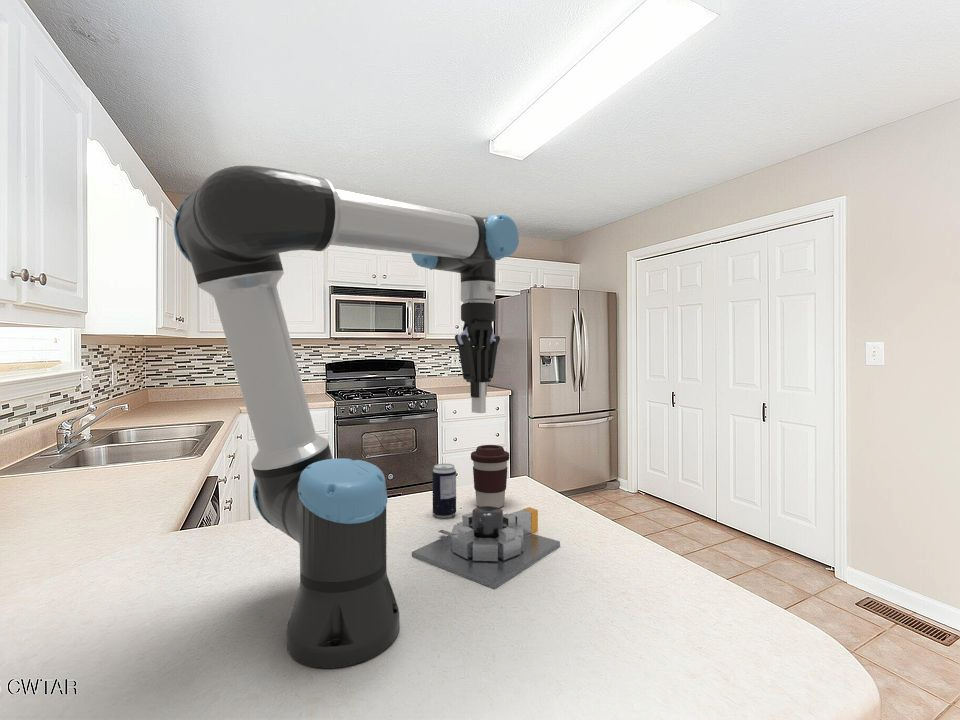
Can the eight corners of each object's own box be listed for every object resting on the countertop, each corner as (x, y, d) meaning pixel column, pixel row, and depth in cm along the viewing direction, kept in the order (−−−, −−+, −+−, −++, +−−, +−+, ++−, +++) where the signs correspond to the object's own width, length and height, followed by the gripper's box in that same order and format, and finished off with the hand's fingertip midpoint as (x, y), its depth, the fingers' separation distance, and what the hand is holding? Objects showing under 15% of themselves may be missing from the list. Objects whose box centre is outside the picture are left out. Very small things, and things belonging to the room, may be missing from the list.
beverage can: (457, 511, 117) (457, 463, 117) (454, 519, 111) (454, 469, 111) (435, 511, 118) (434, 462, 117) (430, 519, 112) (430, 468, 112)
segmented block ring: (438, 544, 94) (438, 521, 94) (510, 520, 107) (510, 500, 107) (484, 568, 84) (484, 542, 84) (558, 538, 97) (558, 516, 97)
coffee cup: (465, 502, 125) (464, 445, 124) (498, 497, 129) (498, 442, 128) (481, 513, 116) (480, 452, 115) (516, 507, 120) (516, 448, 119)
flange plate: (494, 588, 79) (494, 541, 79) (401, 552, 93) (401, 512, 93) (564, 543, 97) (564, 504, 97) (477, 519, 112) (477, 485, 111)
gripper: (472, 299, 94) (472, 417, 95) (509, 304, 105) (510, 410, 105) (444, 301, 99) (445, 414, 99) (483, 306, 109) (483, 408, 110)
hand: (478, 412), depth 102 cm, fingers closed
